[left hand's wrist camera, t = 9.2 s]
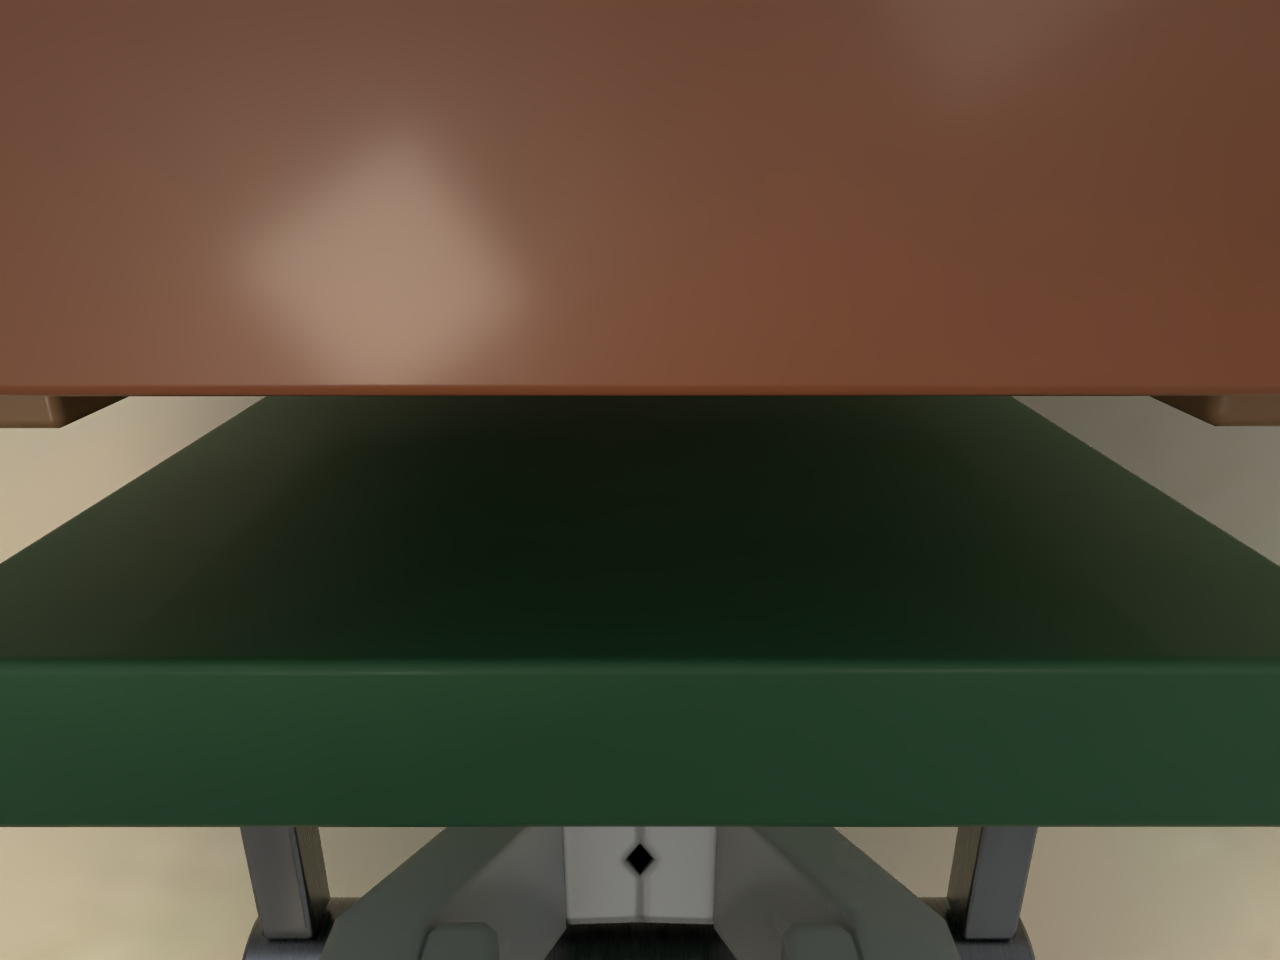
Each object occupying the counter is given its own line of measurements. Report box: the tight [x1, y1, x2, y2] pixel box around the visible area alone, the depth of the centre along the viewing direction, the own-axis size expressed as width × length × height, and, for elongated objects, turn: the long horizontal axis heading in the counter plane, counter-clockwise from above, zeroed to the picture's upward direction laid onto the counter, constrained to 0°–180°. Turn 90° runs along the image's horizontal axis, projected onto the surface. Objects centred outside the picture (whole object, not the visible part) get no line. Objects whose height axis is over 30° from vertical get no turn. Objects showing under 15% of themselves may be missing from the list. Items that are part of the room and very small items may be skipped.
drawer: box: [0, 396, 1280, 960], centre depth 8 cm, size 18×9×9 cm, turn 0°
